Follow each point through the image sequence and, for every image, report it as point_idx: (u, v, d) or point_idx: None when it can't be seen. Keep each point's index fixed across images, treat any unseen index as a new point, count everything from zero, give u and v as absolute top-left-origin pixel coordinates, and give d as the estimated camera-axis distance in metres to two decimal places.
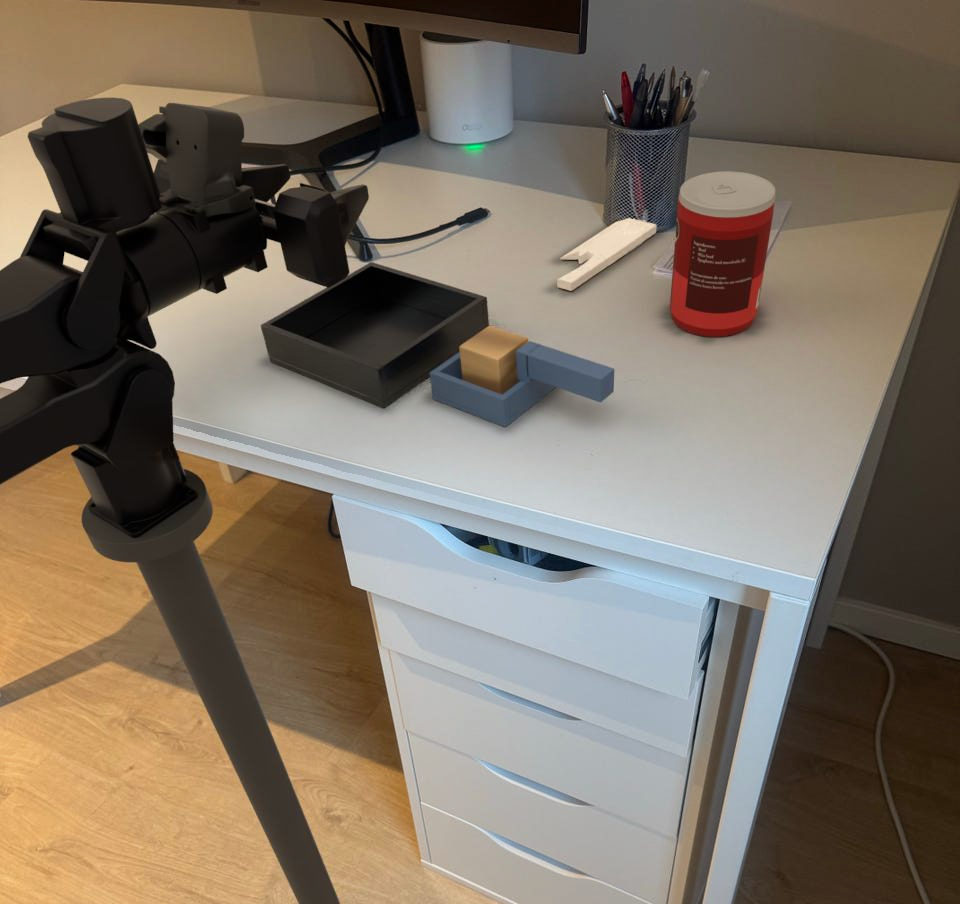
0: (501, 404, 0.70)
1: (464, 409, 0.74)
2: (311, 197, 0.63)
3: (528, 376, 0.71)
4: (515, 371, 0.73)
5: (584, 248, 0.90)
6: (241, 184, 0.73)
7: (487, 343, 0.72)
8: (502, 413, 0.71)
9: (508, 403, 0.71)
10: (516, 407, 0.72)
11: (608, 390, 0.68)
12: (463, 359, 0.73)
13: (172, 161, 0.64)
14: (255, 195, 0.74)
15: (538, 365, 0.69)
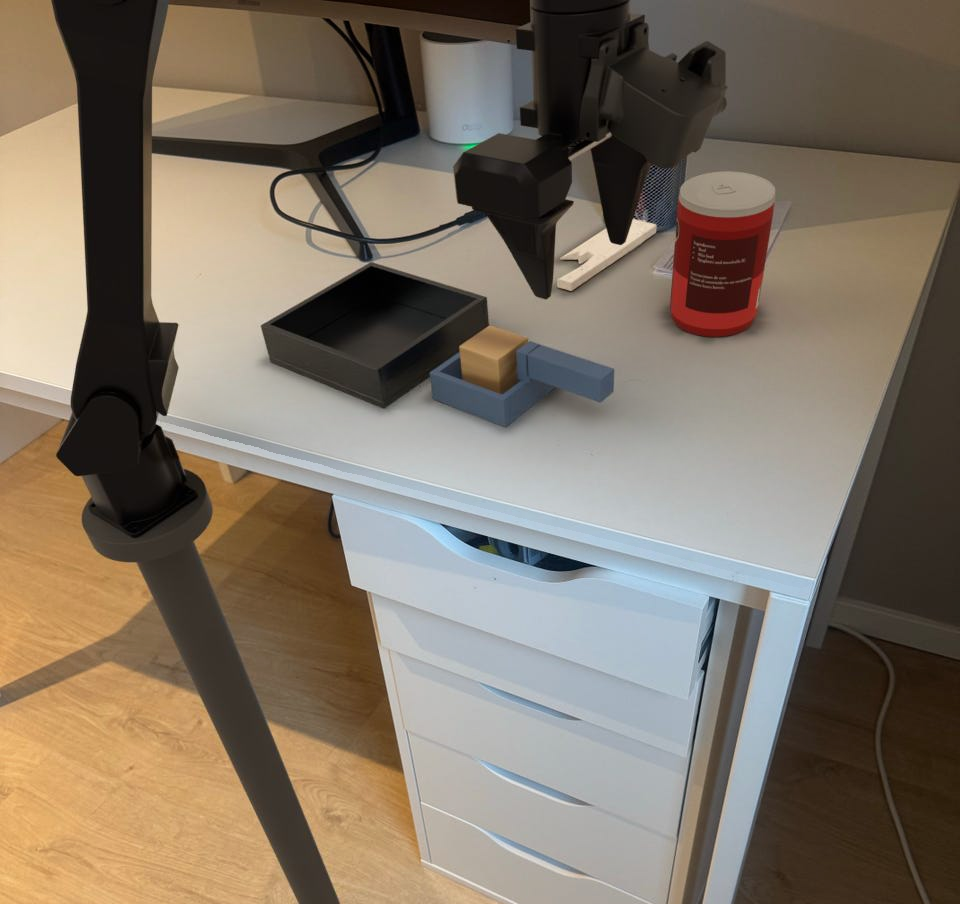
0: (501, 404, 0.70)
1: (464, 409, 0.74)
2: (544, 190, 0.51)
3: (528, 376, 0.71)
4: (515, 371, 0.73)
5: (584, 248, 0.90)
6: (626, 172, 0.61)
7: (487, 343, 0.72)
8: (502, 413, 0.71)
9: (508, 403, 0.71)
10: (516, 407, 0.72)
11: (608, 390, 0.68)
12: (463, 359, 0.73)
13: (670, 65, 0.52)
14: (611, 186, 0.63)
15: (539, 365, 0.69)
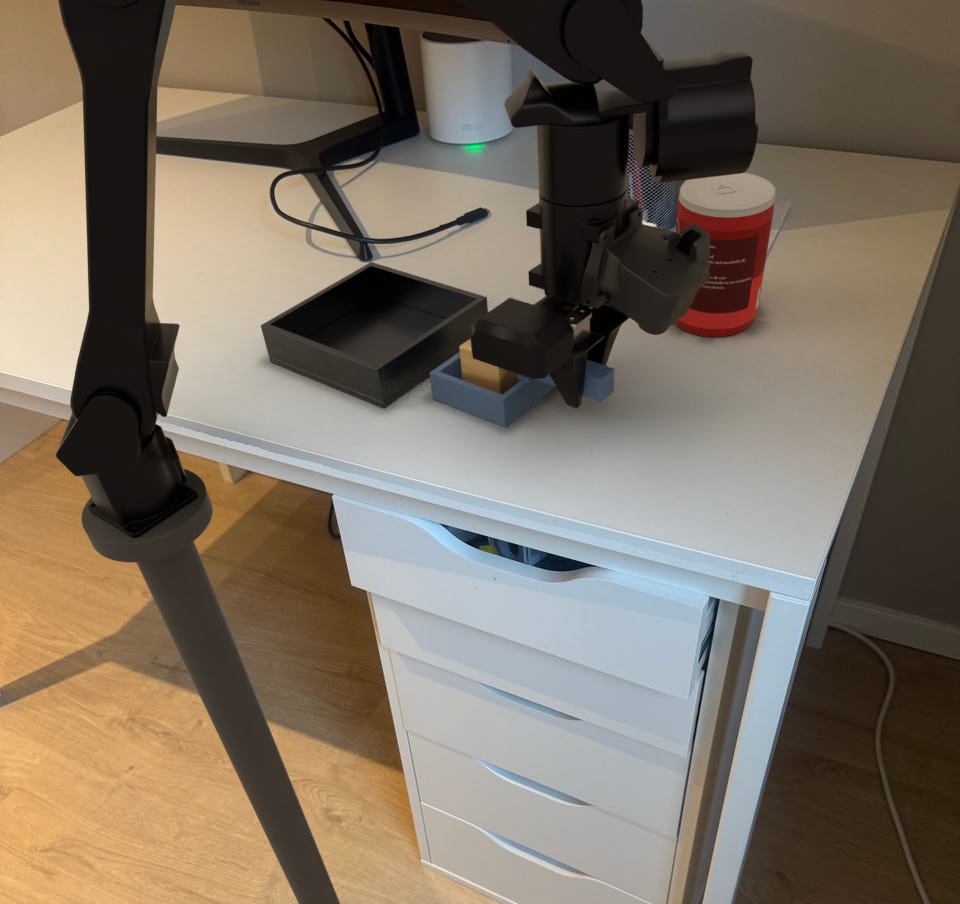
0: (501, 403, 0.70)
1: (464, 409, 0.74)
2: (549, 355, 0.58)
3: None
4: None
5: None
6: None
7: None
8: (502, 413, 0.71)
9: (508, 403, 0.71)
10: (516, 407, 0.72)
11: (608, 390, 0.68)
12: (463, 359, 0.73)
13: (660, 245, 0.59)
14: None
15: None
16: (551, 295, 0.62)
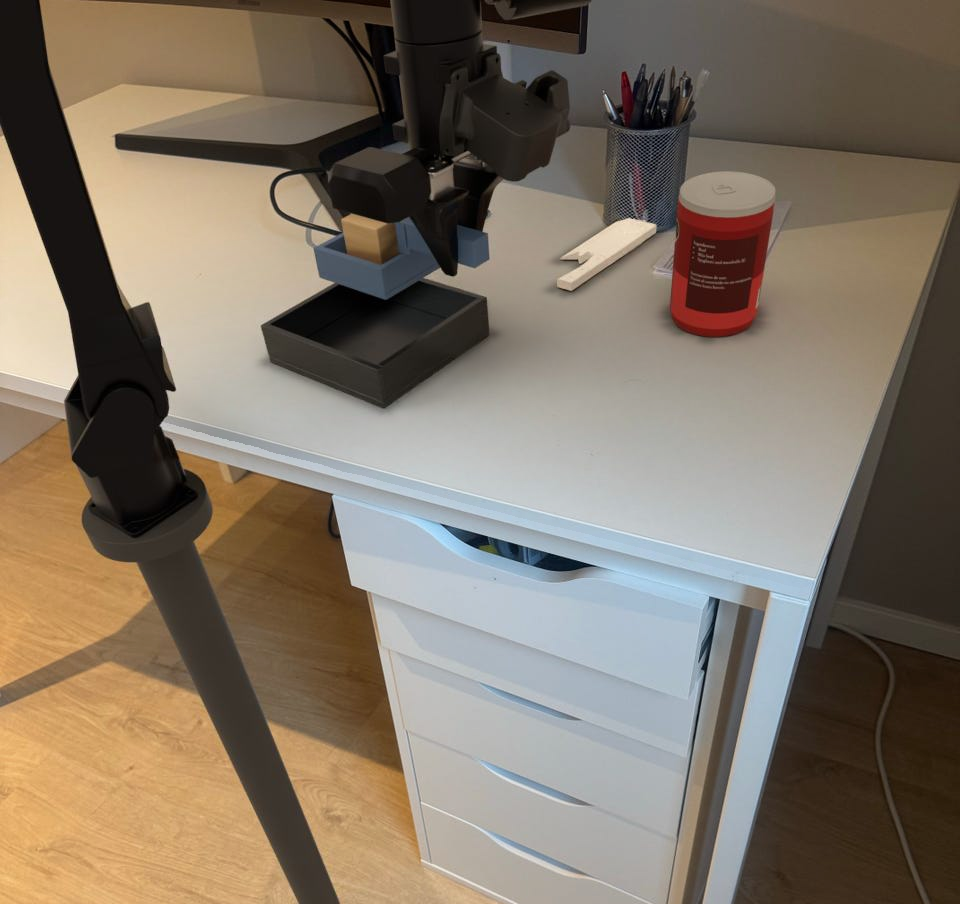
0: (380, 273, 0.70)
1: (348, 285, 0.73)
2: (402, 198, 0.58)
3: (408, 247, 0.70)
4: None
5: (584, 248, 0.90)
6: (469, 200, 0.67)
7: None
8: (381, 284, 0.71)
9: (387, 274, 0.70)
10: (397, 280, 0.71)
11: (482, 256, 0.67)
12: (346, 233, 0.72)
13: (518, 91, 0.59)
14: (457, 211, 0.68)
15: (416, 234, 0.69)
16: (414, 147, 0.62)
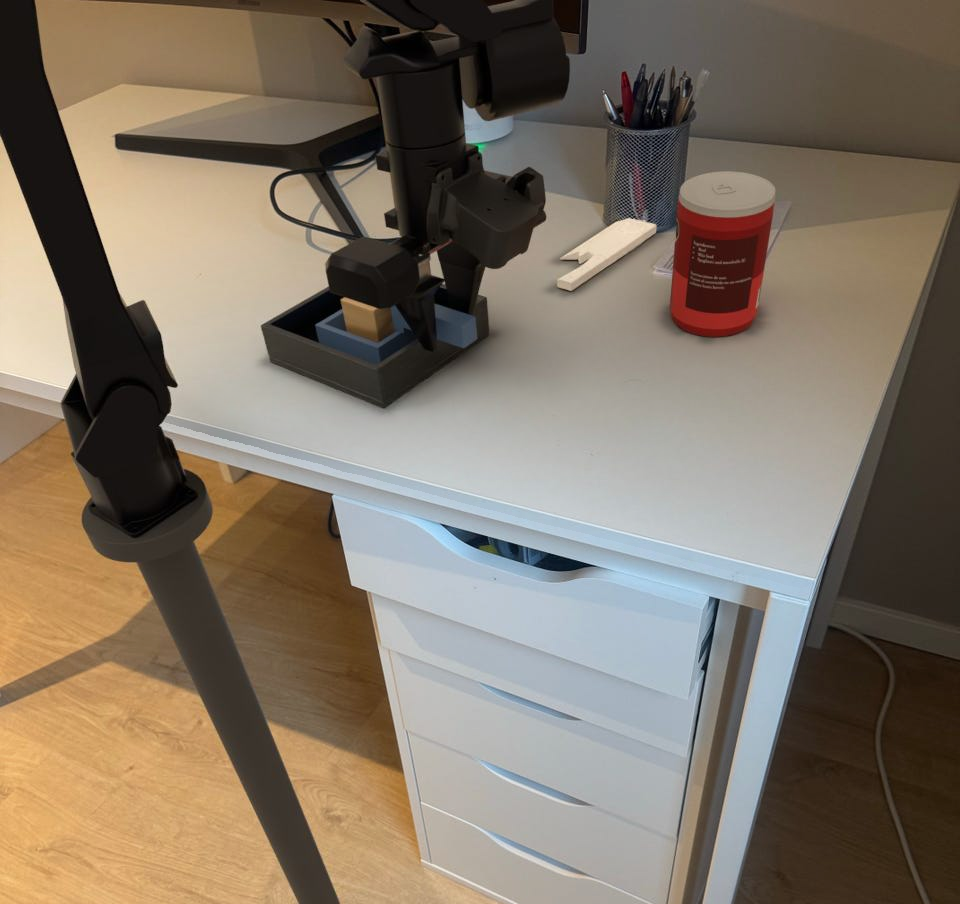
0: (377, 351, 0.76)
1: None
2: (393, 286, 0.63)
3: (402, 326, 0.77)
4: None
5: (584, 248, 0.90)
6: (465, 271, 0.73)
7: None
8: (378, 360, 0.77)
9: (383, 351, 0.76)
10: None
11: (470, 337, 0.74)
12: (345, 312, 0.79)
13: (498, 186, 0.65)
14: (454, 281, 0.74)
15: None
16: (404, 235, 0.67)
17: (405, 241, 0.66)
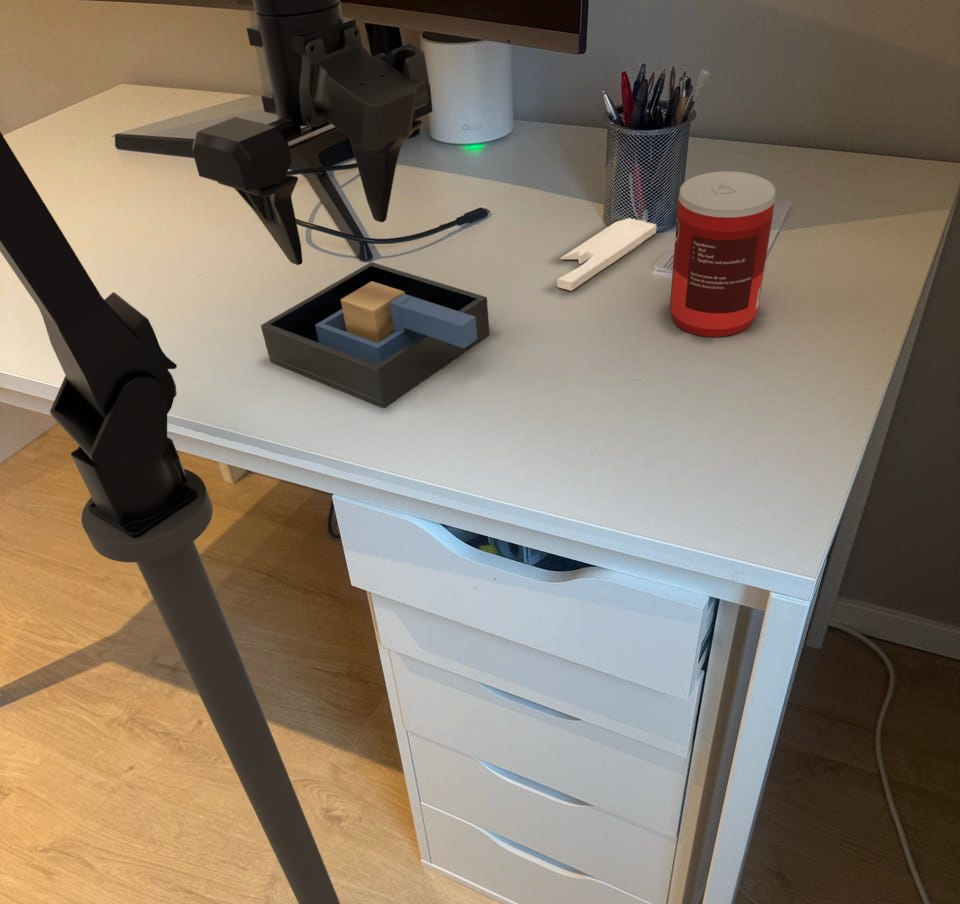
0: (377, 351, 0.76)
1: None
2: (259, 165, 0.60)
3: (402, 326, 0.77)
4: None
5: (584, 248, 0.90)
6: (377, 157, 0.70)
7: (366, 296, 0.78)
8: (378, 360, 0.77)
9: (383, 351, 0.76)
10: None
11: (470, 337, 0.74)
12: (345, 312, 0.79)
13: (376, 63, 0.61)
14: (367, 169, 0.71)
15: (409, 315, 0.75)
16: (280, 118, 0.63)
17: (280, 123, 0.63)
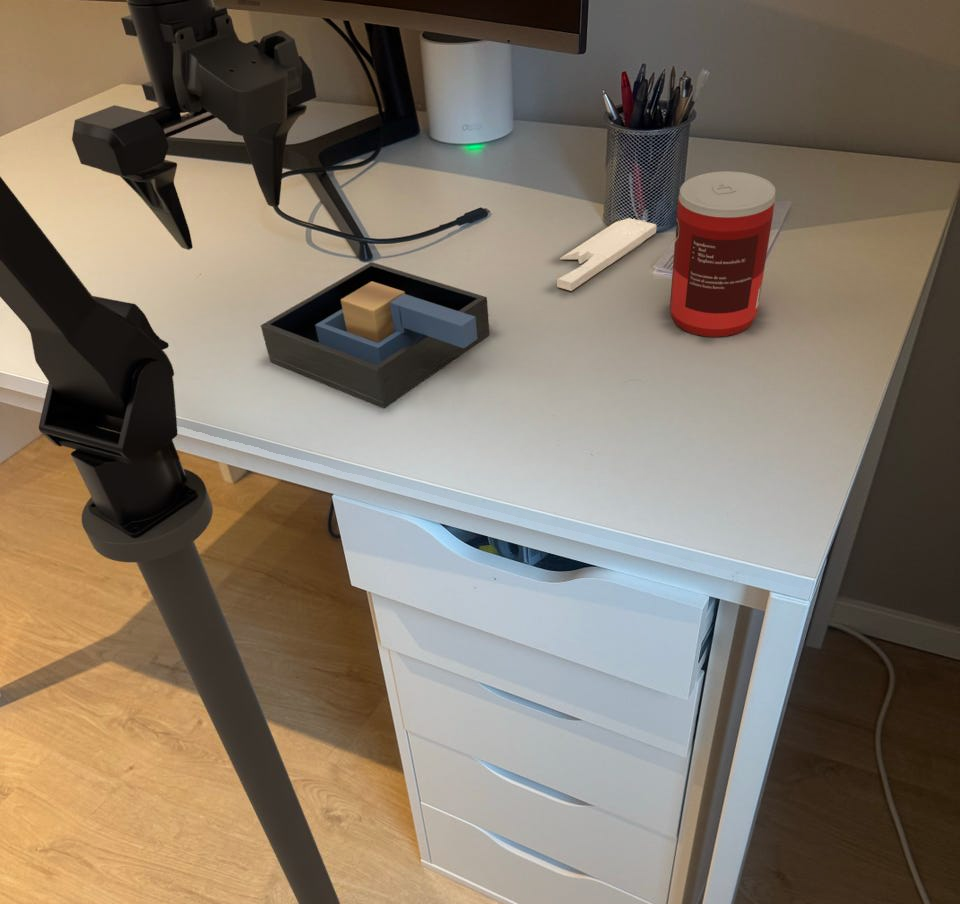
0: (377, 351, 0.76)
1: None
2: (134, 151, 0.61)
3: (402, 326, 0.77)
4: None
5: (584, 248, 0.90)
6: (265, 143, 0.72)
7: (366, 296, 0.78)
8: (378, 360, 0.77)
9: (383, 351, 0.76)
10: None
11: (470, 337, 0.74)
12: (345, 312, 0.79)
13: (248, 50, 0.63)
14: (257, 155, 0.73)
15: (409, 315, 0.75)
16: (160, 106, 0.65)
17: (158, 110, 0.64)
